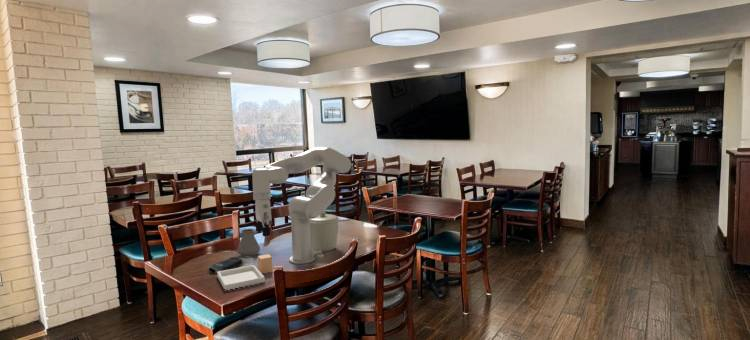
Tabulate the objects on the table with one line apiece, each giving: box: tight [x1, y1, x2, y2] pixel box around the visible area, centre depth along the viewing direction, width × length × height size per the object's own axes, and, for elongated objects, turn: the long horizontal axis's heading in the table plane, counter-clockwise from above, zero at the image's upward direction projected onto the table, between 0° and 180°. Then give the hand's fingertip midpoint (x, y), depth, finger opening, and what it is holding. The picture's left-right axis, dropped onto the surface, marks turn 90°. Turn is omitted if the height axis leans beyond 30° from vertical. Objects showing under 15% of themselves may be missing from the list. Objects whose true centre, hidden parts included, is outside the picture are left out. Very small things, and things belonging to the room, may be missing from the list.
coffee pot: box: [236, 220, 274, 258], centre depth 212 cm, size 21×12×15 cm, turn 143°
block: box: [257, 253, 273, 275], centre depth 183 cm, size 5×5×7 cm
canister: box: [310, 210, 341, 253], centre depth 215 cm, size 18×18×21 cm
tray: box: [216, 264, 266, 292], centre depth 173 cm, size 16×18×2 cm
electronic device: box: [208, 256, 245, 274], centre depth 189 cm, size 9×6×15 cm
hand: (263, 233), depth 182 cm, fingers open, 9 cm apart
